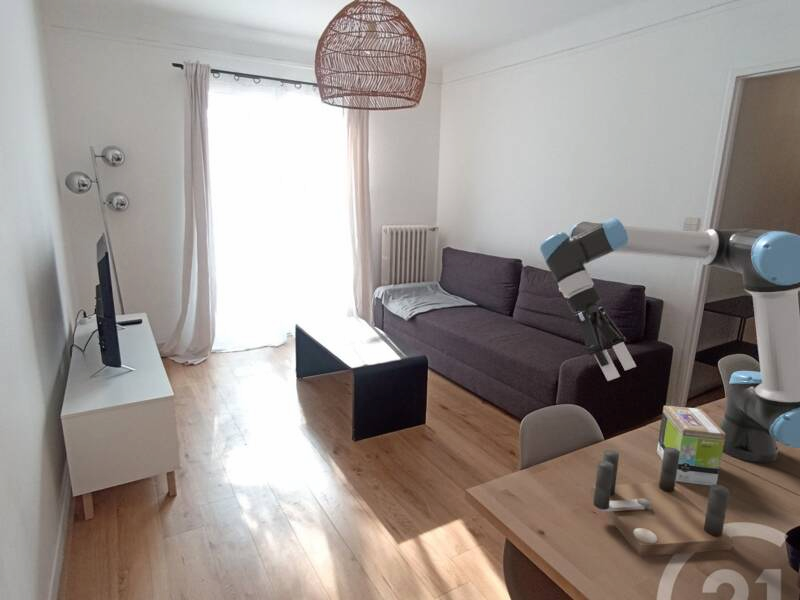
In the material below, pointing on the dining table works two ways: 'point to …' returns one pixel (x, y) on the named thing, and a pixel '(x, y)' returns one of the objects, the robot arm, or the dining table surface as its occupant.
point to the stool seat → (668, 513)
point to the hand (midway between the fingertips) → (622, 373)
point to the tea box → (692, 444)
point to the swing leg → (604, 492)
